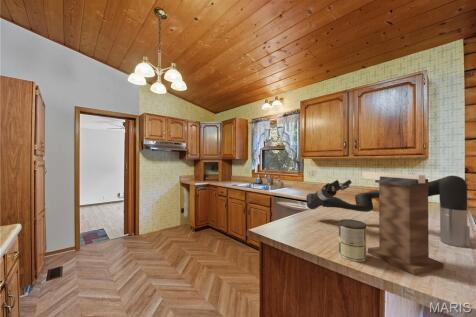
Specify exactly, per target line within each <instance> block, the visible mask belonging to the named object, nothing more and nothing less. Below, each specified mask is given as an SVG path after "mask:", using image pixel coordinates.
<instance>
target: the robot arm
mask: <svg viewBox="0 0 476 317" xmlns="http://www.w3.org/2000/svg"><path fill="white" fill-rule="evenodd" d="M428 182H429V183H433V185H432V186H428V198H429V197H433V196H438V195H439V219H440V220H439V223H440V224H439V227H440V229H439V236H440V237H439V238H440V239H439V240H440V242H442V243H443V244H447V245H450V246H453V247H461V248H470V247H471V245H470V244H471V242H470V241H471V240H470V239H471V236H470V235H471V234H470V233H471V228H470V226H469V225H468V184H467V183H468V182H466V180H465V179H464V178H463V177H461V176H459V175H458V176H457V175H447V176H445V177H442V178H439V179H434V180H432V181H428ZM351 184H352V180H351V179H347V180H346V181H345V182H339V179H336V180H334V181H333V182H330V183H329V182H328V183H326V184H325V185H323V186H322V187H321V188H320V189H319V190H317V191H315V192H314V193H307V195H306V197H305V198H306V207H307V208H308V209H309V210H315V209H317V208H319V206H320V205H321V206H322V207H323V208H336V209H337V208H338V209H343V210H344V209H345V210H348V211H356V212H363V213H364V212H365V213H366V212H367V213H368V212H371V211H372V210H373V209H374V207H373V202H372V199H373V198H379V190H378V191H373V192H368V191H367V192H361V193H357V194H356V195H355V196H354V199H355V200H354V201H355V204H353V203H349V202H347V201H345V200H343V199H341V198H339V197H337V196H336V195H337V192H339V191H344V190H346V189H347V188H349V187H350V185H351ZM372 212H373V211H372Z"/></svg>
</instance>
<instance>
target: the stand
mask: <svg viewBox="0 0 476 317" xmlns="http://www.w3.org/2000/svg"><path fill="white" fill-rule="evenodd" d="M374 182H375V183H376V184H377V183H378V191H379V212H378V215H379V216H378V226H379V228H378V234H379V235H378V236H379V237H378V239H379V240H378V242H379V243H378V244H379V245H378V246H373V247H368V248H367V254H369V255H371V256H373V257H375V256H376V257H375V258H377V257H378V259H379V258H380V259H379V260H381V259H382V260H381V261H384V262H386V263H387V264H389V265H391V266H394V267H396V268H398V269H400V270H402V271H404V272H406V273H408V274H410V275H412V274H413V275H414V274H415V275H420V274H424V273H429V272H433V271H438V270H442V269H443V268H445V266H444V262H442V261H439V260H436V259H434V258H431V257H430V256H429V255H430V254H429V243H430V242H429V240H430V239H429V197H428V186H432V185H433V183H429V182H430V181H429V179H428V178H425V183H418V179H407V178H394V177H380V180H378V179H374ZM428 271H429V272H428ZM419 273H420V274H419ZM413 275H412V276H413Z"/></svg>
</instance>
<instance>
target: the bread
mask: <svg viewBox="0 0 476 317" xmlns="http://www.w3.org/2000/svg"><path fill="white" fill-rule="evenodd" d="M373 191H379V189H378V190H377V189H369V190H368V191H367V192H373ZM372 202H373V207H374V209H373V210H372V212H378V213H379V198H373V199H372Z"/></svg>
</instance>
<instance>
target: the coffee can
mask: <svg viewBox="0 0 476 317" xmlns="http://www.w3.org/2000/svg"><path fill="white" fill-rule="evenodd" d="M338 255H339V256H340V257H341V258H342V259H345V260H348V261H351V262H359V263H361V262H365V261H367V223H366V222H363V221H362V220H361V221H360V220H356V219H345V218H344V219H339V220H338Z"/></svg>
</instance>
